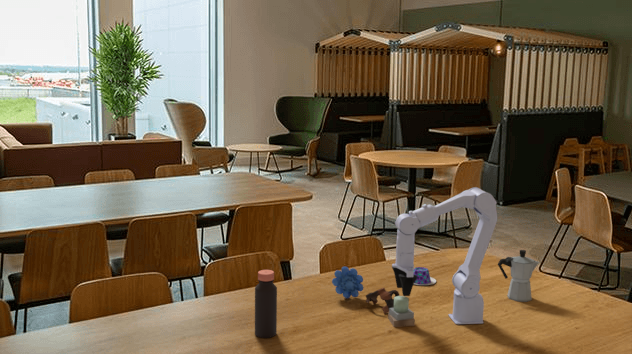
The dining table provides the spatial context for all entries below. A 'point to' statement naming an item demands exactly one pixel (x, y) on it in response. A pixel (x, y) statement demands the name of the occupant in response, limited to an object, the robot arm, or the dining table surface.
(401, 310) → the green cylinder
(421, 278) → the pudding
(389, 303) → the pottery mug
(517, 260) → the coffee maker
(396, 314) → the tower top
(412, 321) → the tower base
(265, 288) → the bottle
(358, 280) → the blue flower
